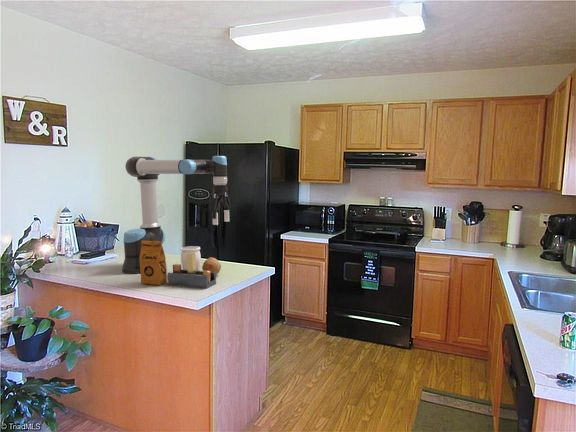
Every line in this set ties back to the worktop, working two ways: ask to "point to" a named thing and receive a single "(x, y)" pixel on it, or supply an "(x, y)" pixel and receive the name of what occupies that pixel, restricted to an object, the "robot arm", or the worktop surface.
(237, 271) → the worktop surface
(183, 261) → the jar
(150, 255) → the coffee package
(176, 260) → the worktop surface
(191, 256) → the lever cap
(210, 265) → the onion
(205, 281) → the dark grey tray
